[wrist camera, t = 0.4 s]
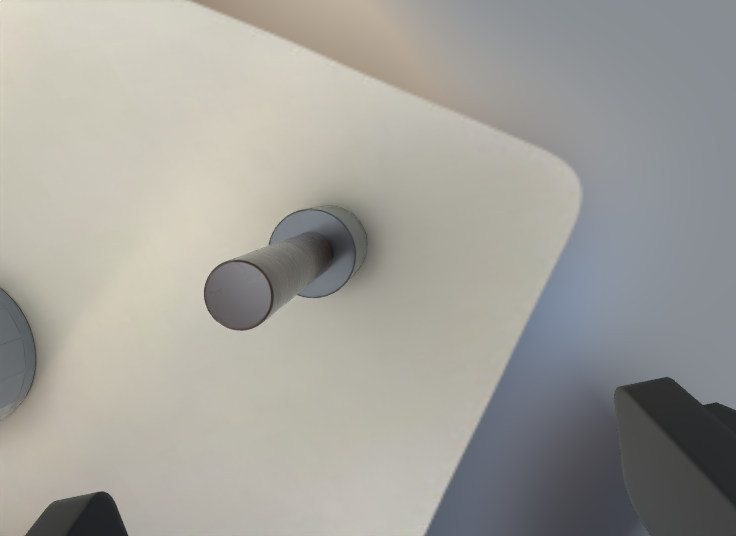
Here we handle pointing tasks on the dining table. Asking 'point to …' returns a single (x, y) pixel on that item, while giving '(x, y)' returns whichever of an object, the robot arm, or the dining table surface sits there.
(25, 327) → the canister
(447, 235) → the dining table surface
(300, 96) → the dining table surface
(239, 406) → the dining table surface
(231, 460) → the dining table surface
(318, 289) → the flanged cylinder peg
